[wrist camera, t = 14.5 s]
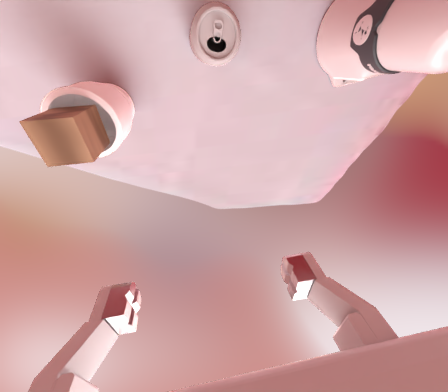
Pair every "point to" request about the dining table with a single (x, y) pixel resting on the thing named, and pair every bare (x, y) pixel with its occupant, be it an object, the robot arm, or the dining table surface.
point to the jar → (106, 105)
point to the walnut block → (67, 134)
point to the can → (215, 34)
